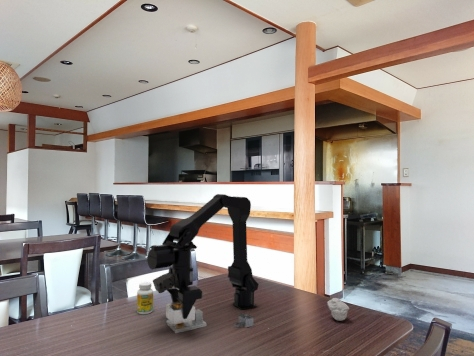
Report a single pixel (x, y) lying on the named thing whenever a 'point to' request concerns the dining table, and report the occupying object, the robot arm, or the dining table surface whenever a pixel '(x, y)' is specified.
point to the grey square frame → (178, 313)
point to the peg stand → (190, 324)
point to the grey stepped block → (245, 321)
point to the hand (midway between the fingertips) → (180, 314)
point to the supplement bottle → (145, 298)
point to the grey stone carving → (338, 309)
